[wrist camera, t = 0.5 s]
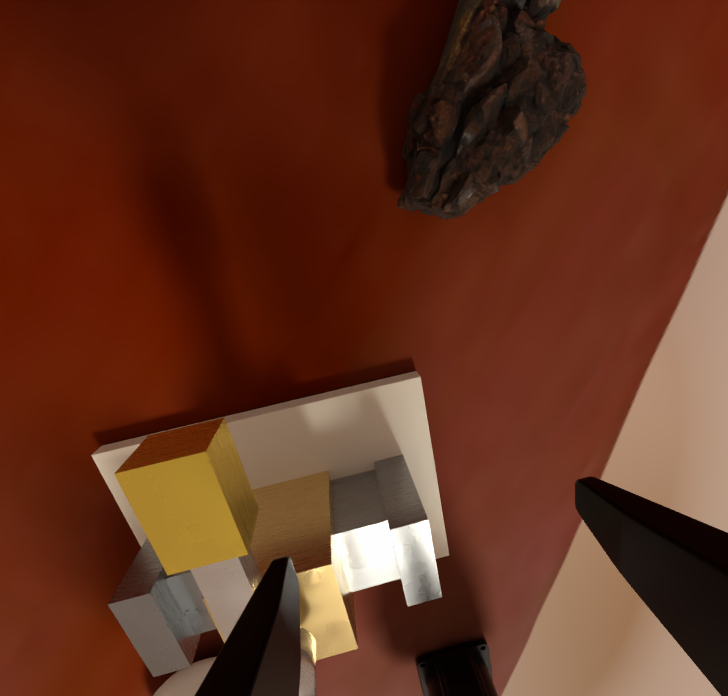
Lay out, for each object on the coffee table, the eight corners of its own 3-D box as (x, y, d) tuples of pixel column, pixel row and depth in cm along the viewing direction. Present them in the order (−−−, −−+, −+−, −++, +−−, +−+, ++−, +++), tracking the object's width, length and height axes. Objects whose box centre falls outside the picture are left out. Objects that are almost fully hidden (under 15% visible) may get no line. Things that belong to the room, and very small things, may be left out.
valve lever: (322, 644, 17) (323, 723, 14) (262, 661, 17) (251, 744, 14) (236, 404, 12) (212, 449, 10) (154, 423, 12) (106, 475, 10)
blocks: (415, 521, 24) (450, 622, 18) (192, 580, 23) (144, 708, 17) (402, 451, 22) (435, 536, 16) (158, 513, 22) (89, 628, 15)
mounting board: (444, 544, 27) (449, 555, 26) (189, 612, 25) (184, 627, 25) (416, 370, 22) (420, 376, 21) (101, 445, 21) (91, 455, 20)
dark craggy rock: (512, -214, 15) (625, -477, 9) (631, -123, 16) (787, -305, 11) (374, 201, 19) (398, 184, 13) (479, 243, 20) (538, 243, 15)
